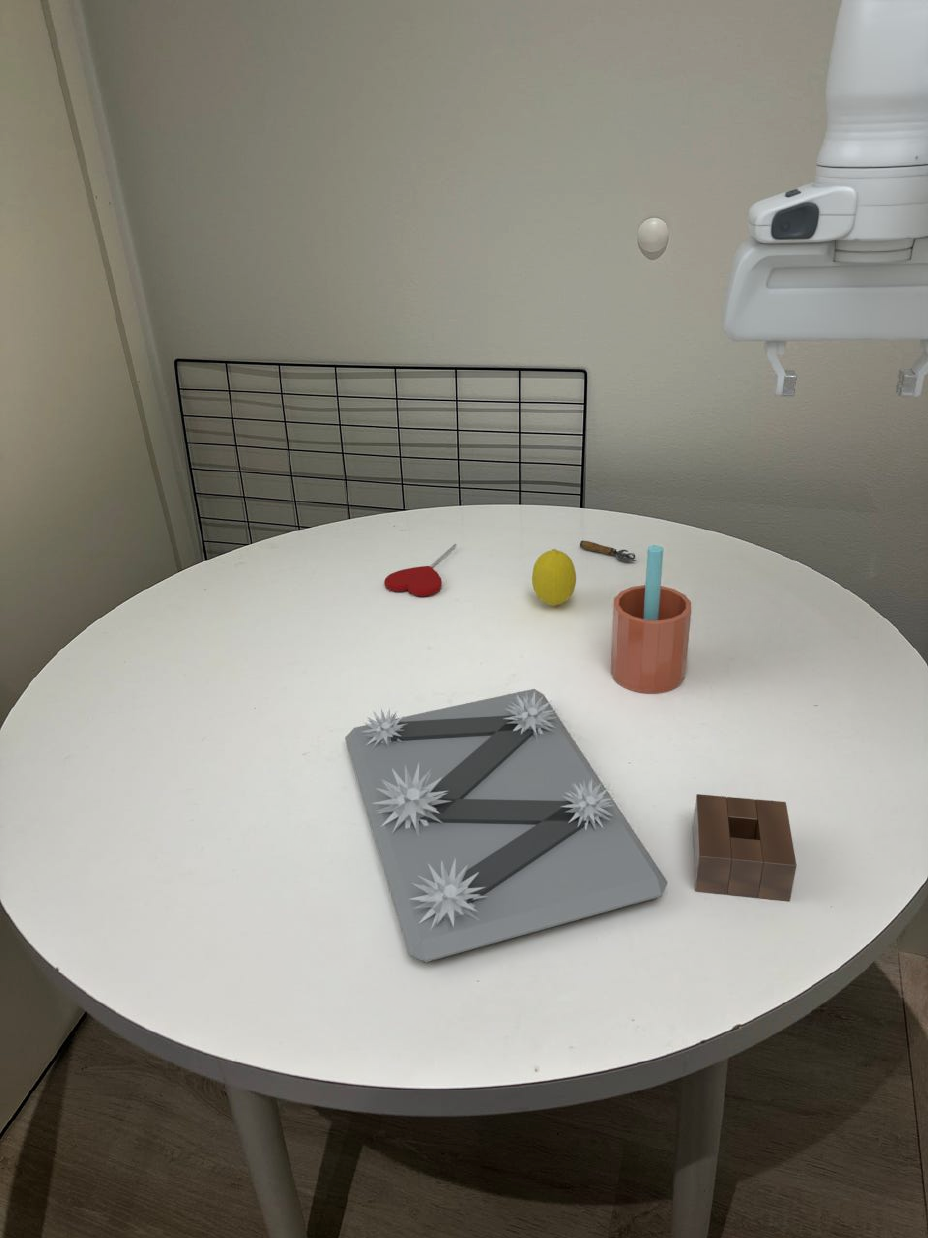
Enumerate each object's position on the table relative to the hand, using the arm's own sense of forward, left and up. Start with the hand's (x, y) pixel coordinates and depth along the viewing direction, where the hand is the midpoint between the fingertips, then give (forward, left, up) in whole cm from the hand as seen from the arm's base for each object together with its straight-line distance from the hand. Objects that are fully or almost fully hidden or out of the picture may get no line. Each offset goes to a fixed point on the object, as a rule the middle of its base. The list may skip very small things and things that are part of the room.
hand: (844, 394), depth 72 cm
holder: (+6, +18, -35) cm, 40 cm away
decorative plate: (+28, +15, -35) cm, 47 cm away
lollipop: (+44, -32, -35) cm, 64 cm away
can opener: (+20, -39, -35) cm, 56 cm away
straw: (+14, -10, -34) cm, 38 cm away
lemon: (+26, -24, -35) cm, 50 cm away
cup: (+14, -10, -35) cm, 39 cm away
